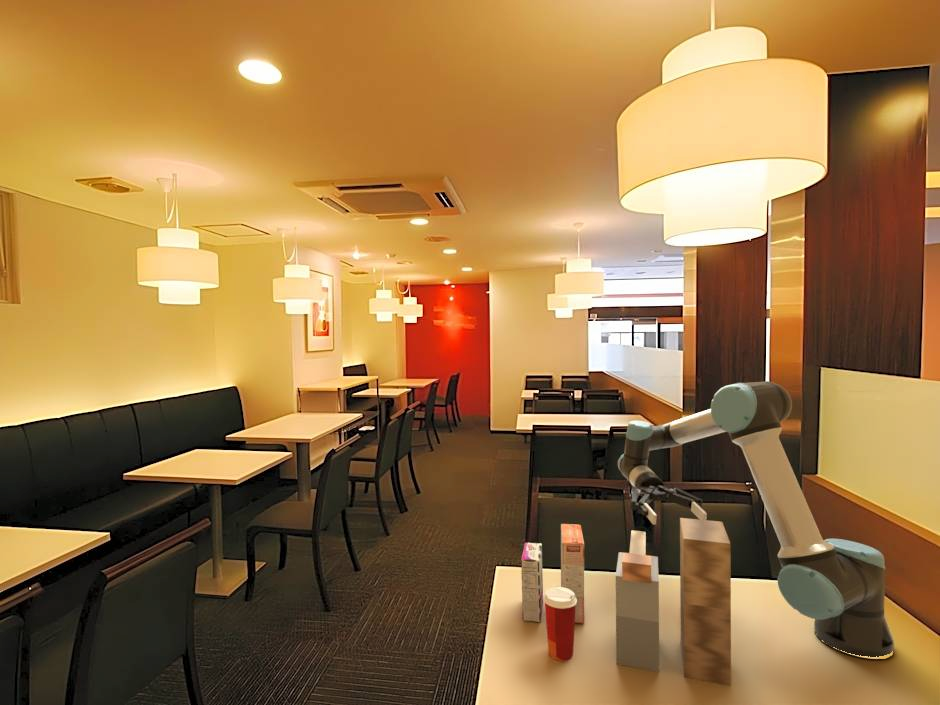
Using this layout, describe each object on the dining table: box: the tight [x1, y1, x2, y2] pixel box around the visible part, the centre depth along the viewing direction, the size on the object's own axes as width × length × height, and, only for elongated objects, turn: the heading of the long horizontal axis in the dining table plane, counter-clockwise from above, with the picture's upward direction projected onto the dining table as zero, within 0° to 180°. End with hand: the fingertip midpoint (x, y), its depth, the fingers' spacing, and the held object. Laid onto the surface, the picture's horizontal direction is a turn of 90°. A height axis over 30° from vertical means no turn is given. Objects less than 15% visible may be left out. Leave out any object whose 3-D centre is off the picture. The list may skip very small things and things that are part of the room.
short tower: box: [615, 551, 660, 673], centre depth 118 cm, size 9×13×20 cm
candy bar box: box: [520, 542, 544, 623], centre depth 136 cm, size 11×5×16 cm, turn 168°
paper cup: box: [543, 586, 577, 662], centre depth 117 cm, size 8×8×14 cm
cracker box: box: [560, 523, 585, 624], centre depth 136 cm, size 14×6×21 cm, turn 171°
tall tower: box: [679, 517, 732, 686], centre depth 113 cm, size 9×13×30 cm
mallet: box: [622, 529, 652, 584], centre depth 120 cm, size 6×22×4 cm, turn 161°
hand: (680, 519), depth 133 cm, fingers open, 13 cm apart
